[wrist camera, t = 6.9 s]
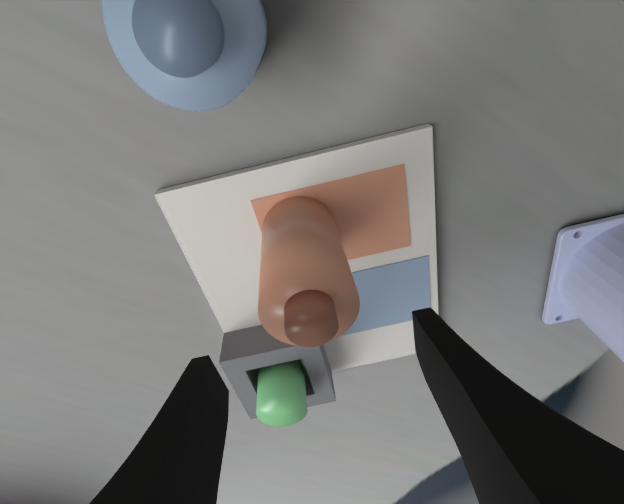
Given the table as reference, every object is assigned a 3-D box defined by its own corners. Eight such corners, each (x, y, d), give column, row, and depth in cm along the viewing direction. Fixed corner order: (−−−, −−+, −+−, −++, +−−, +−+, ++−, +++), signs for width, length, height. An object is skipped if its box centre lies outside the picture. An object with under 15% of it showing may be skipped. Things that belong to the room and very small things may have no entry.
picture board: (427, 123, 18) (453, 140, 15) (436, 342, 26) (453, 376, 24) (157, 190, 18) (138, 216, 16) (252, 381, 27) (250, 418, 24)
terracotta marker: (330, 189, 18) (359, 274, 12) (340, 253, 21) (369, 354, 14) (253, 204, 18) (243, 297, 12) (271, 267, 21) (271, 373, 14)
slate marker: (250, -47, 14) (228, -105, 7) (278, 68, 16) (280, 98, 10) (150, -20, 14) (45, -54, 8) (191, 90, 16) (136, 134, 10)
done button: (297, 350, 23) (300, 391, 20) (308, 379, 24) (312, 420, 22) (252, 360, 23) (249, 401, 20) (265, 388, 24) (264, 430, 22)
